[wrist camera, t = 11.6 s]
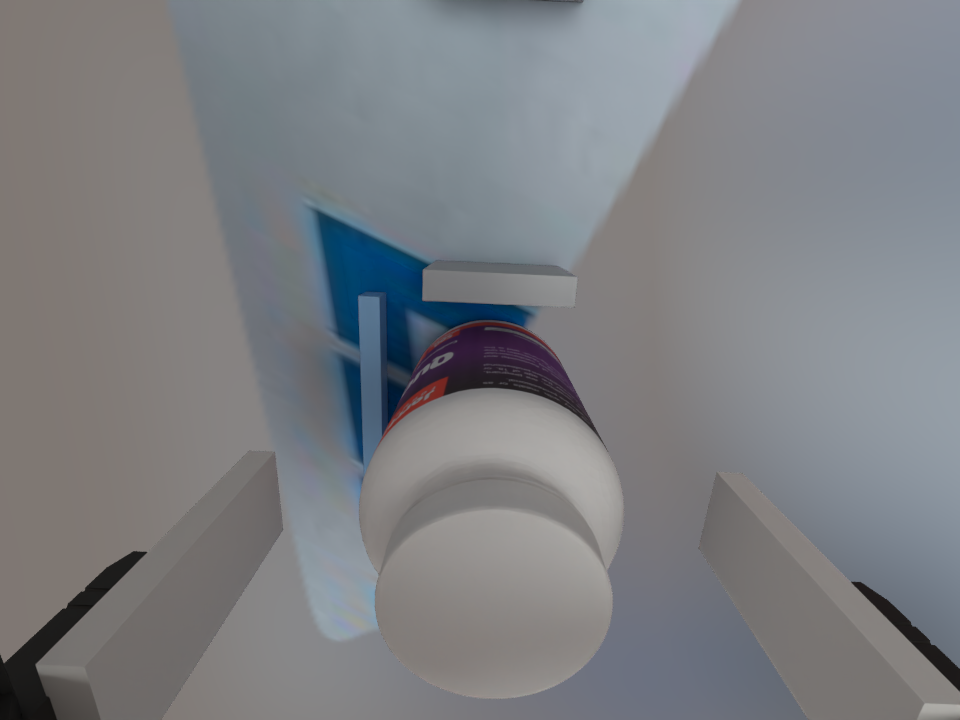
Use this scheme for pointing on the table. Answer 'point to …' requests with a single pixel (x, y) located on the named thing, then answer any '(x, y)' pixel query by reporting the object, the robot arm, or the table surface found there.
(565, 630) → the pill bottle
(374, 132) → the table surface
